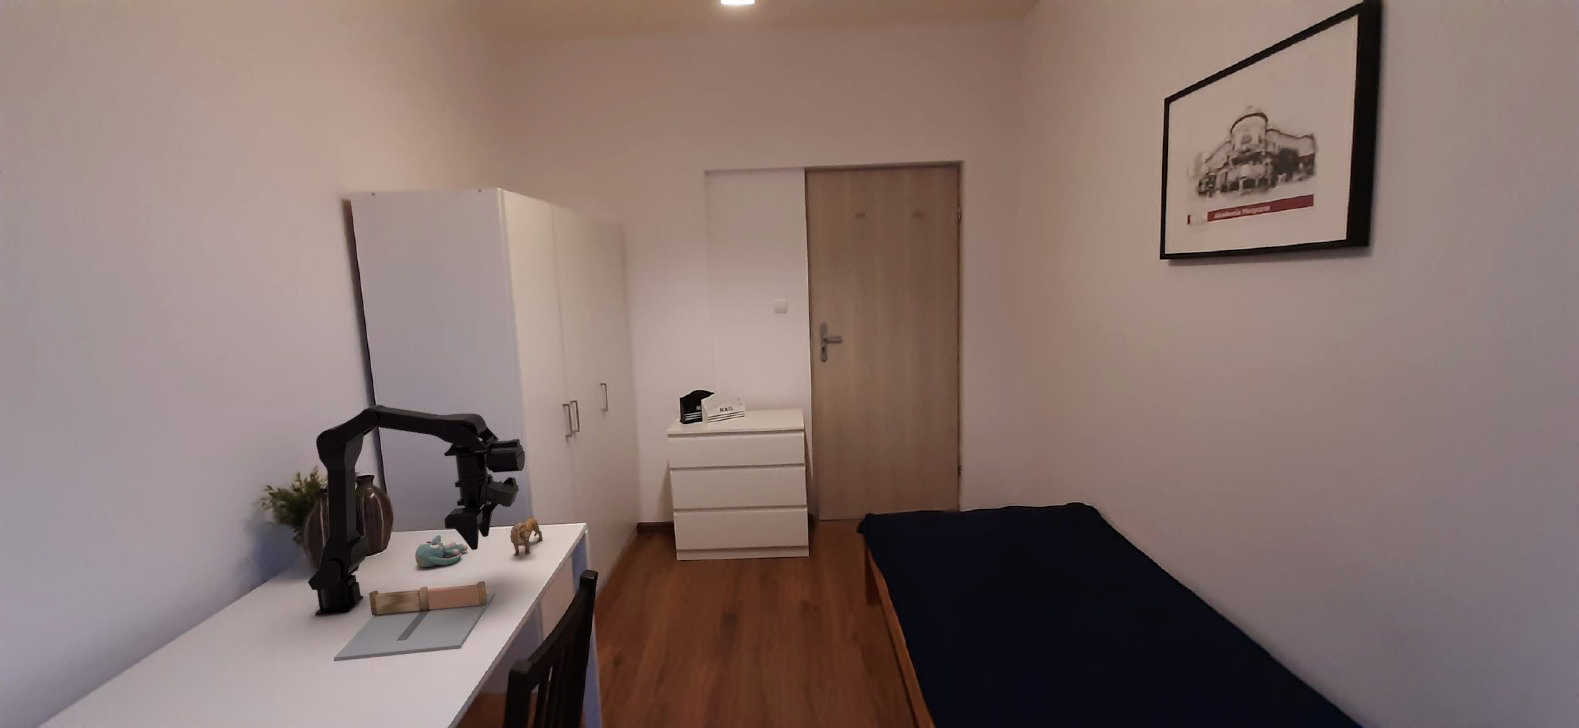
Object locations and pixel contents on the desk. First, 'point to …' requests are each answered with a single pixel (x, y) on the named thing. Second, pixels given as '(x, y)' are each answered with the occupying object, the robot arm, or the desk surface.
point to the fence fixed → (395, 601)
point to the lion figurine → (524, 534)
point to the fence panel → (453, 596)
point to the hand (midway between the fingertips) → (480, 542)
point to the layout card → (414, 631)
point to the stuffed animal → (438, 553)
